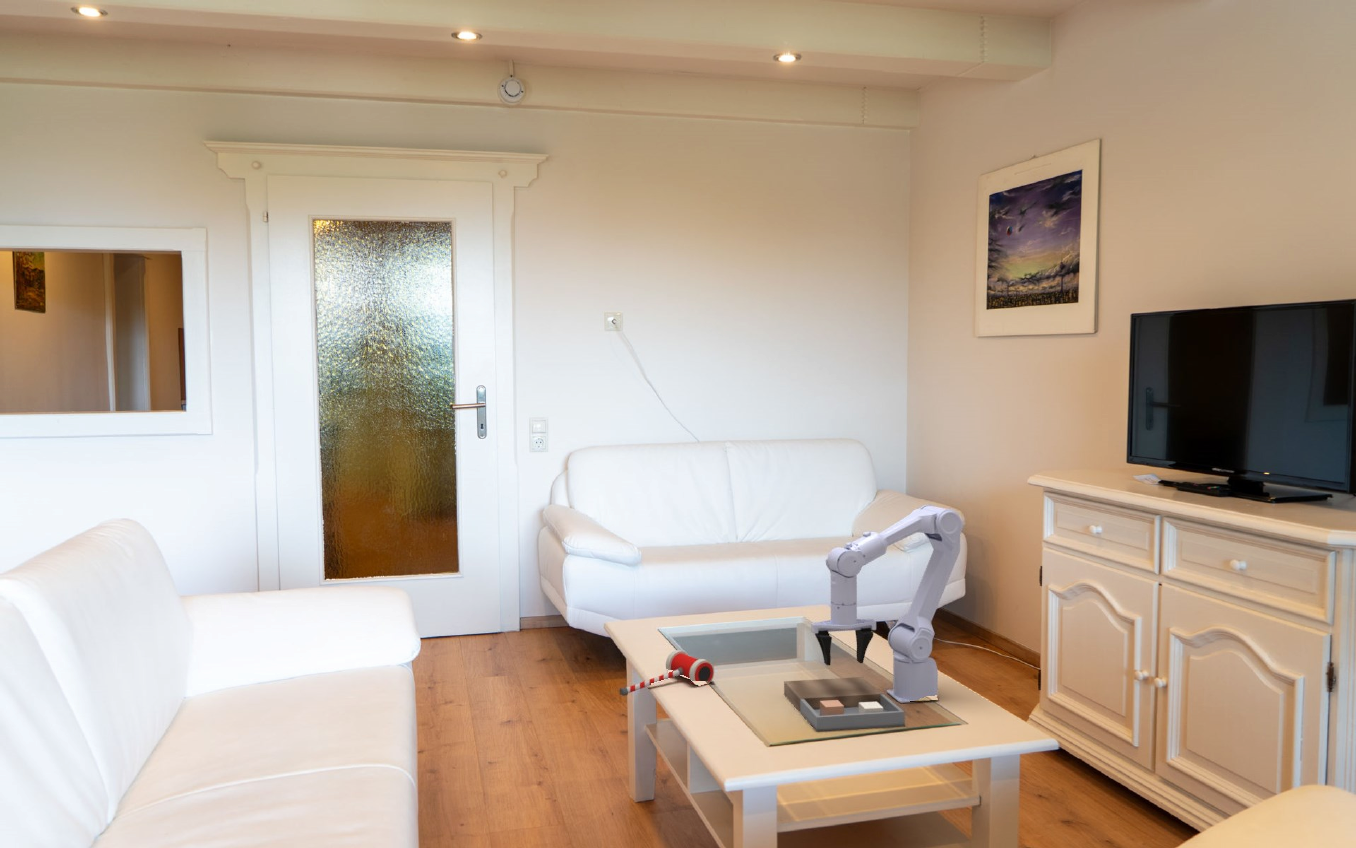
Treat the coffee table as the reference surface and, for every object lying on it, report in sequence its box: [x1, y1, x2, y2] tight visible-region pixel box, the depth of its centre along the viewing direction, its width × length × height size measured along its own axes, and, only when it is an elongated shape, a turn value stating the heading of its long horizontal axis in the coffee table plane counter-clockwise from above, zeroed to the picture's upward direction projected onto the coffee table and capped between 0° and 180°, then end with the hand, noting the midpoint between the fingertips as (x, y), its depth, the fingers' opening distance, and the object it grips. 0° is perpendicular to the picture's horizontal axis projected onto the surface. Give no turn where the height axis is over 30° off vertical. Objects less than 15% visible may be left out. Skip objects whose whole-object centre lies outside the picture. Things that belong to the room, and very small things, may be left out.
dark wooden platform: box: [783, 676, 884, 713], centre depth 218 cm, size 19×12×3 cm, turn 100°
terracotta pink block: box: [820, 700, 844, 716], centre depth 205 cm, size 4×4×3 cm
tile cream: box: [859, 702, 883, 713], centre depth 204 cm, size 4×4×3 cm
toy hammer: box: [619, 649, 715, 697], centre depth 229 cm, size 23×12×6 cm, turn 126°
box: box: [799, 693, 906, 733], centre depth 205 cm, size 19×12×3 cm, turn 100°
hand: (843, 663), depth 215 cm, fingers open, 7 cm apart
